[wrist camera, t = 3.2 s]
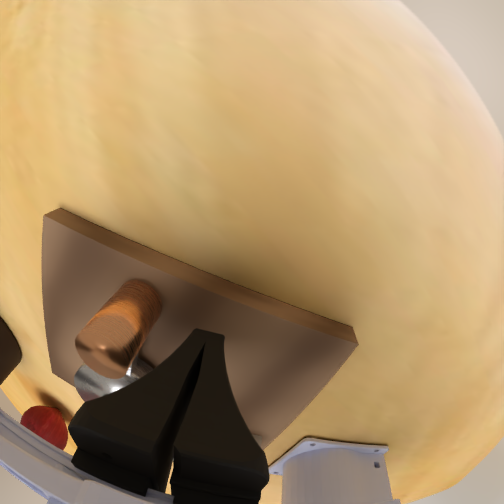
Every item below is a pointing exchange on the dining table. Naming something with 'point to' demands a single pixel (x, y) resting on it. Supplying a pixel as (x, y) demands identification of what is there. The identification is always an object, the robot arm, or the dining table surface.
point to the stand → (190, 320)
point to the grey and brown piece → (116, 341)
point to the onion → (46, 425)
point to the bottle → (7, 352)
